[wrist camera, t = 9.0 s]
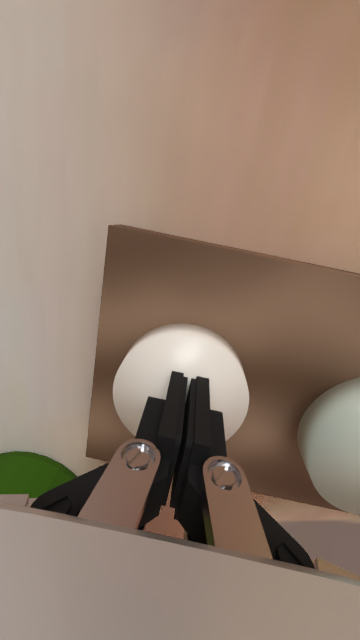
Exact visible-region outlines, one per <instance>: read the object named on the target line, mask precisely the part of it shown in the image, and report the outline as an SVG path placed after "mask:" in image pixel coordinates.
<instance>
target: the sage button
mask: <svg viewBox="0 0 360 640" xmlns="http://www.w3.org/2000/svg"><path fill="white" fill-rule="evenodd" d="M297 444H298V448H299V452H300V454H301V457H302V459H303V461H304V464H305V466H306V469H307V471H308V473H309V476H310V478H311V480H312V483H313V485H314V487H315V489H316V490H317V491H318V493H319V494H320V495H321V496H322V497H323V498H324V499H325V500H326V501H327V502H329V503H330V504H331V505H333V506H335V507H337V508H339V509H341V510H343V511H346V512H349V513H352V514H356V515H360V378H356V379H352V380H348V381H346V382H343V383H340V384H338V385H336V386H334V387H332V388H330V389H329V390H327V391H326V392H324V393H323V394H322V395H320V396H319V397H318V398H317V399H316V400H315V401H314V402H313V403H312V404H311V405H310V406H309V407H308V409H307V410H306V411H305V413H304V415H303V416H302V418H301V421H300V423H299V426H298V431H297Z"/></svg>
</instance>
